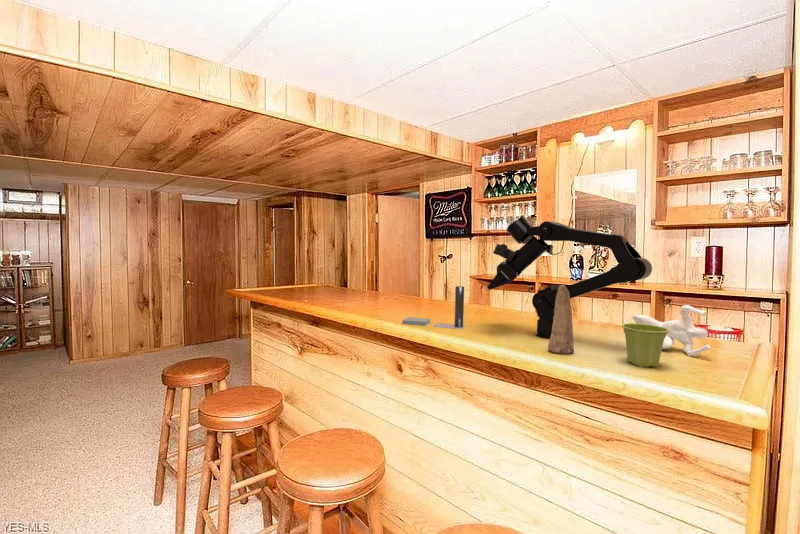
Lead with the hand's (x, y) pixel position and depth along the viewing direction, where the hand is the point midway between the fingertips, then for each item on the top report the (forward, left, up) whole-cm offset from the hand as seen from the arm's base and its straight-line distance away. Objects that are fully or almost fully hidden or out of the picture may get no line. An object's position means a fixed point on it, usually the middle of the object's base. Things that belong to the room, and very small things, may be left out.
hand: (490, 287), depth 127 cm
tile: (+19, +8, -13) cm, 24 cm away
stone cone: (-27, +11, -14) cm, 32 cm away
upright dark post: (+11, +6, -14) cm, 19 cm away
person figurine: (-47, -12, -14) cm, 50 cm away
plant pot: (-44, +8, -14) cm, 47 cm away
